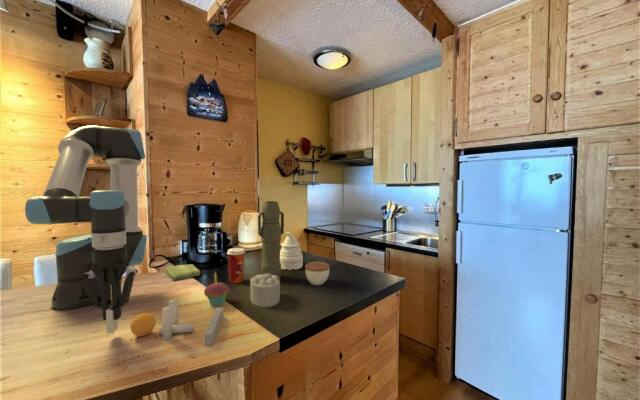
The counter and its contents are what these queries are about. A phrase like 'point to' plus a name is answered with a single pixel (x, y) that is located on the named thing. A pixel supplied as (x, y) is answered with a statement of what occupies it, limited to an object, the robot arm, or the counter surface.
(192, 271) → the washcloth
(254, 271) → the counter surface
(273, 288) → the lumpy-topped squat cylinder
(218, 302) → the cupcake
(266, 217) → the thermos
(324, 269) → the lidded jar
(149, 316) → the ball
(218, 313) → the white long bar
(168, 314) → the pin
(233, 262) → the paper cup
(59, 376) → the counter surface
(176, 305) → the pin
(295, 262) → the honey pot
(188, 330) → the front pin
